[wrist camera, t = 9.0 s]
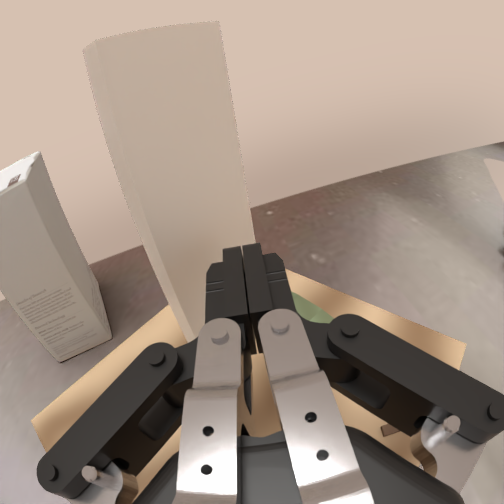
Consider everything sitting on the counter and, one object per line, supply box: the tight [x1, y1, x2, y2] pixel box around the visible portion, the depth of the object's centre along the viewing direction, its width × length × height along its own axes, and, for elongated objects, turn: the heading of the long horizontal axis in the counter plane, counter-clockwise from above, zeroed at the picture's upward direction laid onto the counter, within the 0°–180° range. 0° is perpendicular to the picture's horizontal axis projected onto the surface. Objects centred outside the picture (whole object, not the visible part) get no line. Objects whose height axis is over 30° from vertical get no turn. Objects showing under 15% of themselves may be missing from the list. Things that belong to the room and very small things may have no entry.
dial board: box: [31, 269, 466, 503], centre depth 15 cm, size 20×22×2 cm
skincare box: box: [0, 151, 112, 362], centre depth 19 cm, size 8×6×15 cm
